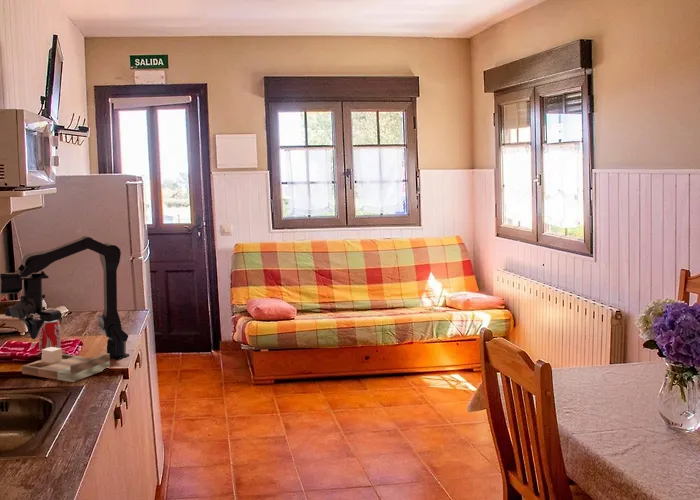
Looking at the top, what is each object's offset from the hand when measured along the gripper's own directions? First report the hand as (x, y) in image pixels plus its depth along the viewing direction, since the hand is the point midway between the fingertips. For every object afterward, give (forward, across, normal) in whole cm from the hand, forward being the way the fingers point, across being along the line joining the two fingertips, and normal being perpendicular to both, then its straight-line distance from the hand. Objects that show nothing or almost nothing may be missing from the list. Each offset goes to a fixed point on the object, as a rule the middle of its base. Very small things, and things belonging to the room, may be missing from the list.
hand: (33, 338), depth 267 cm
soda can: (+9, -6, +14) cm, 18 cm away
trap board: (+9, +13, 0) cm, 16 cm away
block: (+6, +7, 0) cm, 10 cm away
